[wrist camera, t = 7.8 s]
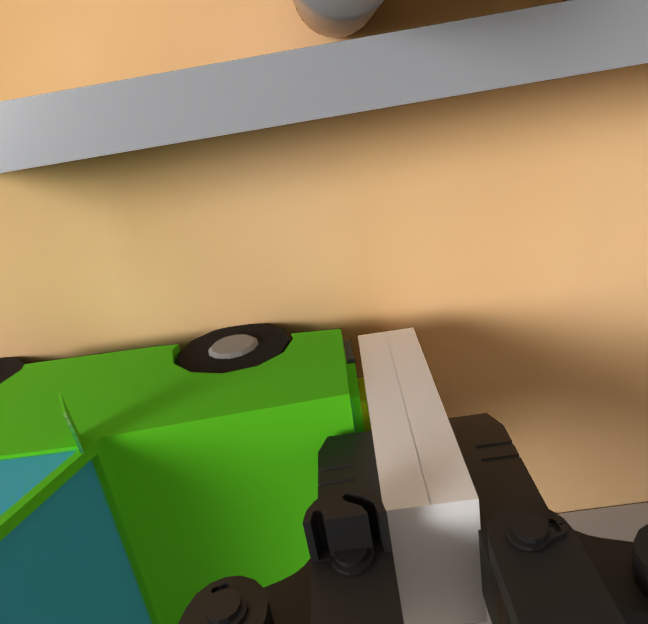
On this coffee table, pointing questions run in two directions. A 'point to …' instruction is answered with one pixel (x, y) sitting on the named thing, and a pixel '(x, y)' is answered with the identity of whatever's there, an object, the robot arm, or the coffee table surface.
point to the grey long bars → (337, 102)
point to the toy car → (164, 470)
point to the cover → (336, 15)
